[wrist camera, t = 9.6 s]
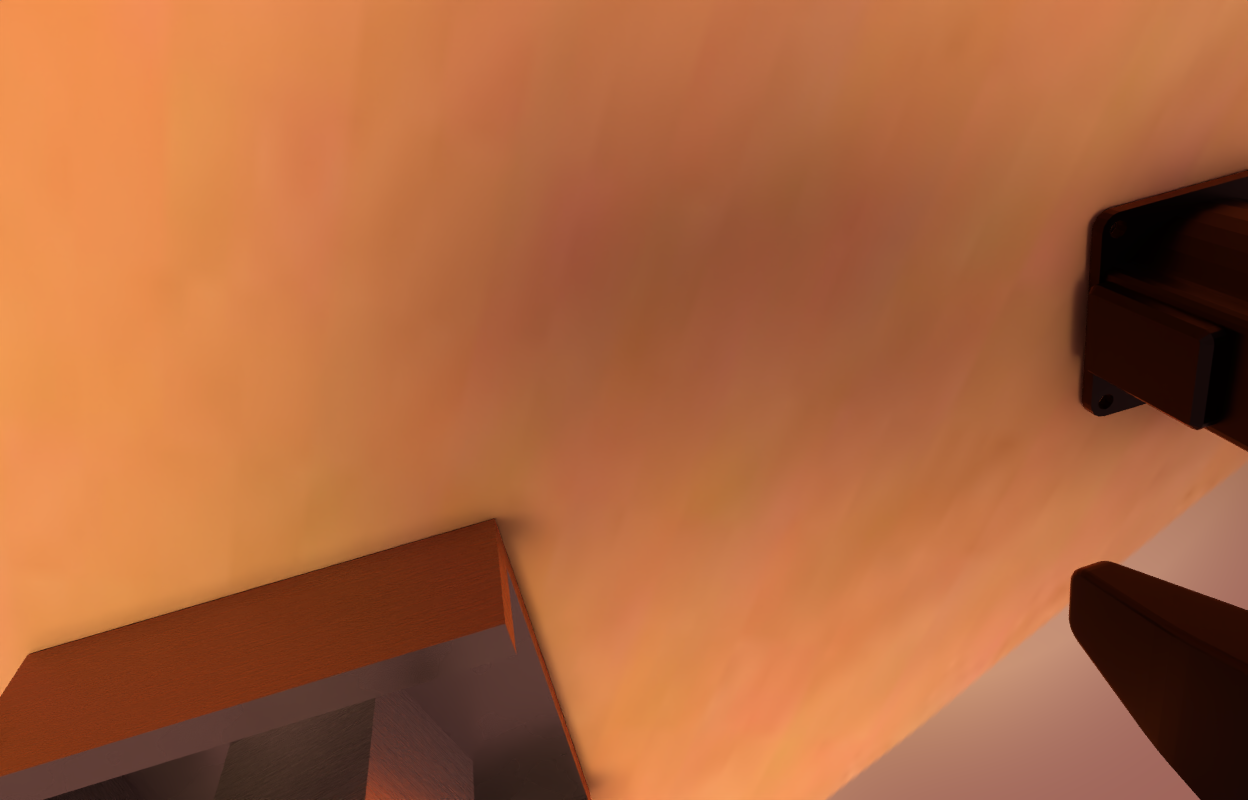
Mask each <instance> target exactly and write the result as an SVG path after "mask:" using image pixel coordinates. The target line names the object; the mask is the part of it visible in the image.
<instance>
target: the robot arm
mask: <svg viewBox="0 0 1248 800" xmlns="http://www.w3.org/2000/svg"><path fill="white" fill-rule="evenodd" d="M1115 222H1116V223H1117V224H1116V228H1115V229H1114V231H1113V232H1112V233H1110V231H1111V227H1112V226H1113V225H1114V223H1115ZM1103 396H1104V397H1103ZM1102 397H1103V399H1102V400H1101V401H1100V402H1099V400H1100V399H1101V398H1102ZM1146 403H1147V404H1148V405H1150V406H1152V407H1154V408H1156V409H1157V410H1159V411H1161V412H1163V413H1165V414H1167V415H1168V416H1170V417H1172V418H1174V419H1176V420H1177V421H1179V422H1181V423H1183V424H1185V425H1186V426H1188V427H1190V428H1192V429H1195V430H1199V429H1202V428H1205V429H1207V430H1209V431H1210V432H1212V433H1214V434H1216V435H1218V436H1220V437H1222V438H1223V439H1225V440H1227V441H1229V442H1231V443H1233V444H1234V445H1236V446H1238V447H1240V448H1242V449H1244V450H1246V451H1247V452H1248V170H1247V171H1244V172H1240V173H1236V174H1233V175H1229V176H1226V177H1222V178H1218V179H1215V180H1211V181H1207V182H1204V183H1200V184H1197V185H1193V186H1189V187H1186V188H1182V189H1179V190H1175V191H1171V192H1168V193H1164V194H1160V195H1157V196H1153V197H1150V198H1146V199H1142V200H1139V201H1135V202H1132V203H1128V204H1124V205H1121V206H1117V207H1114V208H1110V209H1108V210H1106V211H1103V212H1102V213H1101V214H1100V215H1099V216H1098V217H1097V219H1096V220H1095V222H1094V224H1093V228H1092V239H1091V256H1090V273H1089V291H1088V308H1087V325H1086V342H1085V359H1084V376H1083V393H1082V404H1083V407H1084V408H1085V409H1086V410H1088V411H1089V412H1091V413H1093V414H1094V415H1097V416H1106V415H1109V414H1113V413H1116V412H1119V411H1123V410H1126V409H1129V408H1133V407H1136V406H1139V405H1143V404H1146ZM1069 623H1070V627H1071V630H1072V632H1073V634H1074V636H1075V638H1076V639H1077V641H1078V642H1079V644H1080V645H1081V646H1082V648H1083V649H1084V650H1085V652H1086V653H1087V655H1088V656H1089V657H1090V659H1091V660H1092V662H1093V663H1094V664H1095V666H1096V667H1097V669H1098V670H1099V671H1100V673H1101V674H1102V675H1103V677H1104V678H1105V680H1106V681H1107V682H1108V684H1109V685H1110V687H1111V688H1112V689H1113V691H1114V692H1115V693H1116V695H1117V696H1118V698H1119V699H1120V700H1121V702H1122V703H1123V704H1124V706H1125V707H1126V708H1127V710H1128V711H1129V713H1130V714H1131V716H1132V717H1133V718H1134V720H1135V721H1136V722H1137V724H1138V725H1139V727H1140V728H1141V729H1142V731H1143V732H1144V733H1145V735H1146V736H1147V737H1148V739H1149V740H1150V741H1151V742H1152V744H1153V745H1154V746H1155V748H1156V749H1157V750H1158V751H1159V752H1160V754H1161V755H1162V756H1163V757H1164V758H1165V760H1166V761H1167V762H1168V763H1169V764H1170V766H1171V767H1172V768H1173V769H1174V770H1175V771H1176V772H1177V773H1178V775H1179V776H1180V777H1181V778H1182V779H1183V780H1184V781H1185V783H1186V784H1187V785H1188V786H1189V787H1190V788H1191V789H1192V791H1193V792H1194V793H1195V794H1196V795H1197V796H1198V797H1199V798H1200V800H1248V610H1245V609H1242V608H1239V607H1237V606H1234V605H1231V604H1229V603H1226V602H1223V601H1220V600H1217V599H1215V598H1212V597H1209V596H1206V595H1203V594H1200V593H1198V592H1195V591H1192V590H1189V589H1186V588H1184V587H1181V586H1178V585H1175V584H1172V583H1170V582H1167V581H1164V580H1161V579H1159V578H1156V577H1153V576H1150V575H1147V574H1145V573H1142V572H1139V571H1136V570H1133V569H1131V568H1128V567H1125V566H1122V565H1119V564H1117V563H1113V562H1109V561H1100V562H1097V563H1094V564H1091V565H1088V566H1085V567H1082V568H1079V569H1077V570H1075V571H1074V573H1073V574H1072V576H1071V584H1070V604H1069Z"/></svg>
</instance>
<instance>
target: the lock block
mask: <svg viewBox="0 0 1248 800" xmlns="http://www.w3.org/2000/svg"><path fill="white" fill-rule="evenodd" d="M214 800H474V782H473V761H472V760H471V759H470V758H469V757H468V756H467V755H466V754H465V753H464V752H463V751H462V750H461V749H460V748H459V747H458V746H457V745H456V743H455V742H454V741H453V740H452V739H451V738H450V737H449V736H448V735H447V734H446V733H445V732H444V731H443V730H442V729H441V728H440V727H439V726H438V725H437V724H436V723H435V721H434V720H433V719H432V718H431V717H430V716H429V715H428V714H427V713H426V712H425V711H424V710H423V709H422V708H421V707H420V706H419V705H418V704H417V703H416V702H415V701H414V699H413V698H412V697H411V696H410V695H409V694H408V693H407V692H406V691H405V690H404V689H402V690H399V691H396V692H393V693H389V694H386V695H383V696H380V697H376V698H373V699H370V700H367V701H363V702H360V703H357V704H354V705H350V706H347V707H344V708H341V709H337V710H334V711H331V712H327V713H324V714H321V715H318V716H314V717H311V718H308V719H305V720H301V721H298V722H295V723H292V724H288V725H285V726H282V727H279V728H275V729H272V730H269V731H266V732H262V733H259V734H256V735H252V736H249V737H246V738H243V739H241V740H240V741H238V742H236V743H234V744H232V745H230V746H229V749H228V752H227V756H226V759H225V763H224V766H223V769H222V773H221V776H220V780H219V783H218V786H217V790H216V793H215V797H214Z"/></svg>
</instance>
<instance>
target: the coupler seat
mask: <svg viewBox="0 0 1248 800" xmlns="http://www.w3.org/2000/svg"><path fill="white" fill-rule="evenodd" d="M402 689H404V690H405V691H406V692H407V693H408V694H409V695H410V696H411V697H412V698H413V699H414V701H415V702H416V703H417V704H418V705H419V706H420V707H421V708H422V709H423V710H424V711H425V712H426V713H427V714H428V715H429V716H430V717H431V718H432V719H433V720H434V721H435V723H436V724H437V725H438V726H439V727H440V728H441V729H442V730H443V731H444V732H445V733H446V734H447V735H448V736H449V737H450V738H451V739H452V740H453V741H454V742H455V743H456V745H457V746H458V747H459V748H460V749H461V750H462V751H463V752H464V753H465V754H466V755H467V756H468V757H469V758H470V759H471V760H472V761H473V782H474V800H591V798H590V792H589V789H588V786H587V784H586V781H585V778H584V775H583V772H582V769H581V766H580V763H579V761H578V758H577V755H576V752H575V749H574V746H573V743H572V740H571V737H570V735H569V732H568V729H567V726H566V723H565V720H564V717H563V714H562V711H561V709H560V706H559V703H558V700H557V697H556V694H555V691H554V688H553V686H552V683H551V680H550V677H549V674H548V671H547V668H546V665H545V662H544V660H543V657H542V654H541V651H540V648H539V645H538V642H537V639H536V637H535V634H534V631H533V628H532V625H531V622H530V619H529V616H528V613H527V611H526V608H525V605H524V602H523V599H522V596H521V593H520V590H519V588H518V585H517V582H516V579H515V576H514V573H513V570H512V567H511V564H510V562H509V559H508V556H507V553H506V550H505V547H504V544H503V541H502V539H501V536H500V533H499V530H498V527H497V524H496V521H495V519H492V520H489V521H485V522H482V523H478V524H475V525H472V526H468V527H465V528H461V529H458V530H454V531H451V532H448V533H444V534H441V535H437V536H434V537H430V538H427V539H424V540H420V541H417V542H413V543H410V544H406V545H403V546H399V547H396V548H393V549H389V550H386V551H382V552H379V553H375V554H372V555H369V556H365V557H362V558H358V559H355V560H351V561H348V562H345V563H341V564H338V565H334V566H331V567H327V568H324V569H321V570H317V571H314V572H310V573H307V574H303V575H300V576H297V577H293V578H290V579H286V580H283V581H279V582H276V583H273V584H269V585H266V586H262V587H259V588H255V589H252V590H249V591H245V592H242V593H238V594H235V595H231V596H228V597H225V598H221V599H218V600H214V601H211V602H207V603H204V604H201V605H197V606H194V607H190V608H187V609H183V610H180V611H177V612H173V613H170V614H166V615H163V616H159V617H156V618H153V619H149V620H146V621H142V622H139V623H135V624H132V625H129V626H125V627H122V628H118V629H115V630H111V631H108V632H105V633H101V634H98V635H94V636H91V637H87V638H84V639H81V640H77V641H74V642H70V643H67V644H63V645H60V646H56V647H53V648H50V649H46V650H43V651H39V652H36V653H32V654H29V655H27V657H26V658H25V660H24V661H23V663H22V664H21V666H20V667H19V669H18V671H17V672H16V674H15V675H14V677H13V678H12V680H11V681H10V683H9V684H8V686H7V687H6V689H5V690H4V692H3V694H2V695H1V697H0V800H214V797H215V793H216V790H217V786H218V783H219V780H220V776H221V773H222V769H223V766H224V763H225V759H226V756H227V752H228V749H229V746H230V745H232V744H234V743H236V742H238V741H240V740H241V739H243V738H246V737H249V736H252V735H256V734H259V733H262V732H266V731H269V730H272V729H275V728H279V727H282V726H285V725H288V724H292V723H295V722H298V721H301V720H305V719H308V718H311V717H314V716H318V715H321V714H324V713H327V712H331V711H334V710H337V709H341V708H344V707H347V706H350V705H354V704H357V703H360V702H363V701H367V700H370V699H373V698H376V697H380V696H383V695H386V694H389V693H393V692H396V691H399V690H402Z"/></svg>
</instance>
